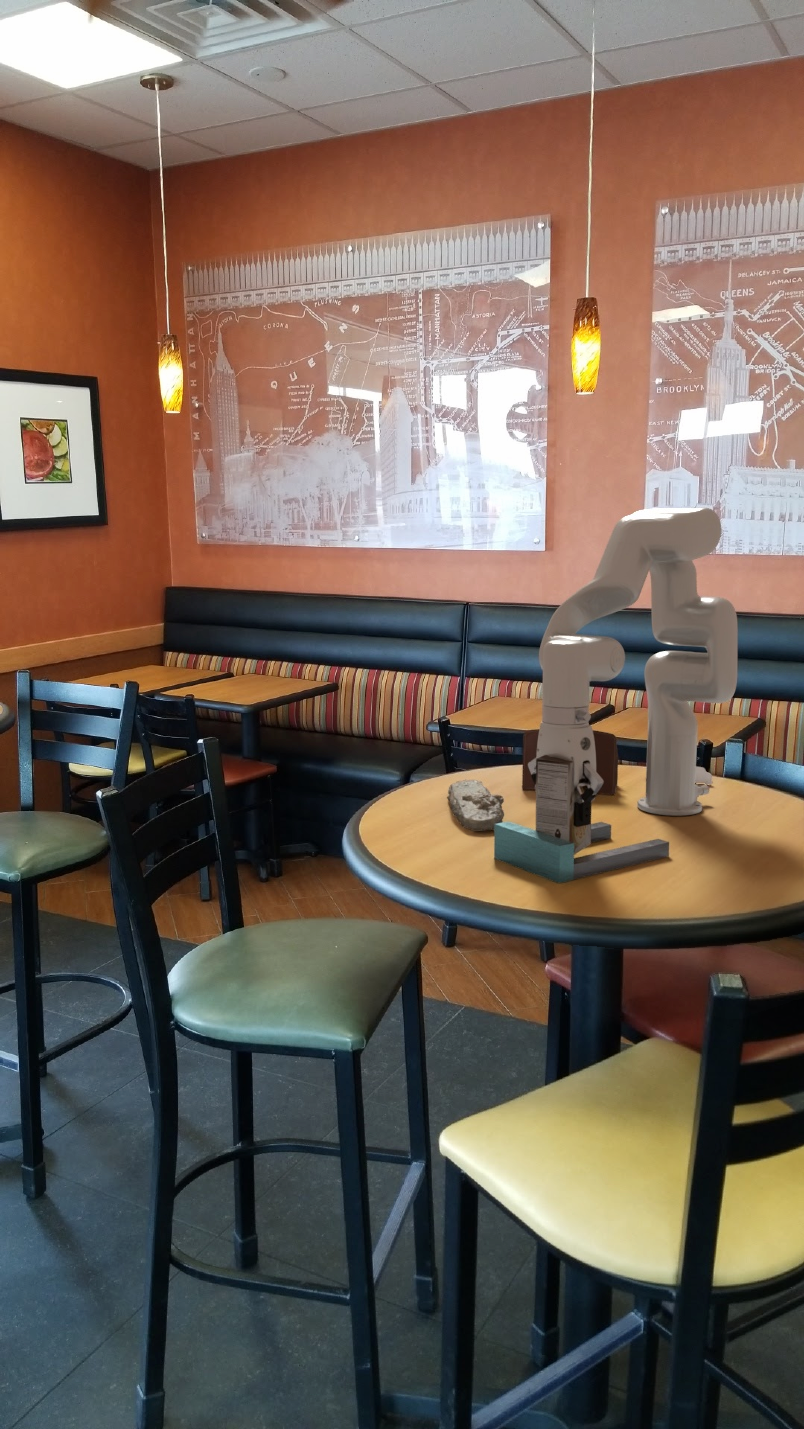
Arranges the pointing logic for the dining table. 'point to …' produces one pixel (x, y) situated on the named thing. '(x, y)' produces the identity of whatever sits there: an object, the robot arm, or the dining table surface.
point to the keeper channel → (568, 852)
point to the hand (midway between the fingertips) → (563, 819)
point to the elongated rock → (475, 805)
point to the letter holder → (604, 760)
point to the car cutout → (703, 776)
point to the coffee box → (558, 802)
